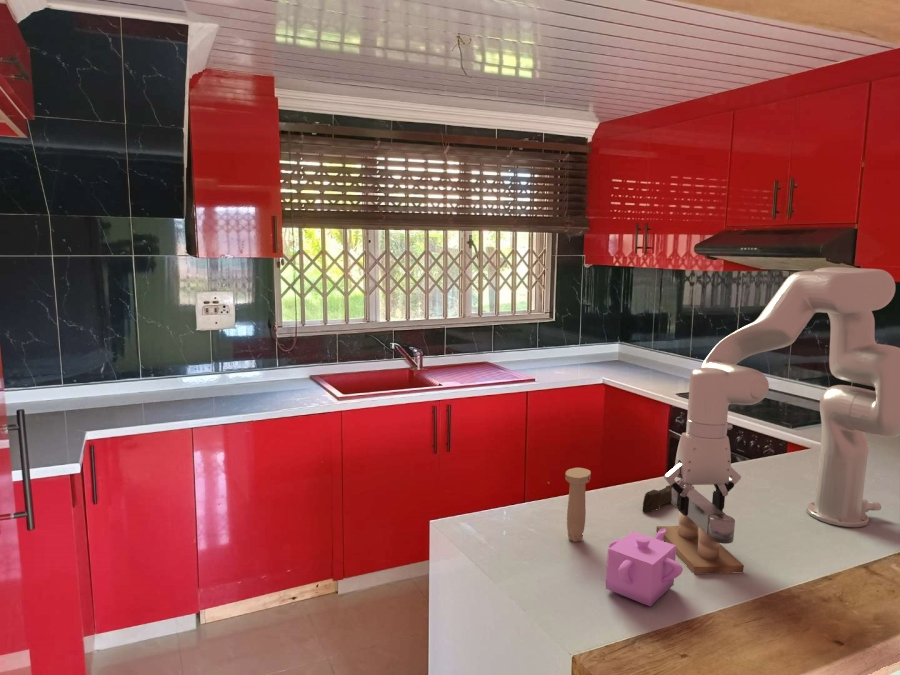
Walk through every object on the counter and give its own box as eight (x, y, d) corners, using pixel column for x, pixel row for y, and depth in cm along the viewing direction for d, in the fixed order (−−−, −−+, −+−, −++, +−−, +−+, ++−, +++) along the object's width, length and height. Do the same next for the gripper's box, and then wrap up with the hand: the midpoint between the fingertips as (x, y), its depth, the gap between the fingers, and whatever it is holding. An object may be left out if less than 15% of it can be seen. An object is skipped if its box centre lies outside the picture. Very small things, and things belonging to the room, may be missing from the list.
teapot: (631, 560, 128) (634, 512, 127) (700, 585, 119) (704, 534, 118) (586, 595, 115) (588, 543, 114) (660, 627, 106) (663, 570, 105)
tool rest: (699, 531, 142) (701, 501, 141) (743, 572, 124) (746, 538, 123) (656, 532, 141) (658, 502, 140) (694, 574, 123) (696, 540, 122)
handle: (558, 541, 136) (561, 474, 134) (571, 530, 141) (574, 466, 139) (579, 547, 133) (582, 479, 131) (591, 536, 138) (594, 470, 136)
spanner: (687, 499, 142) (688, 482, 142) (738, 543, 121) (739, 523, 121) (667, 499, 142) (668, 482, 141) (715, 543, 121) (716, 524, 120)
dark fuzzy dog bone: (677, 492, 165) (678, 475, 165) (691, 497, 162) (692, 479, 162) (632, 510, 154) (633, 491, 153) (647, 515, 151) (648, 497, 150)
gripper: (737, 423, 133) (730, 504, 136) (657, 424, 132) (652, 506, 134) (757, 434, 126) (749, 519, 128) (673, 434, 124) (667, 521, 127)
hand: (699, 511), depth 131 cm, fingers open, 6 cm apart
